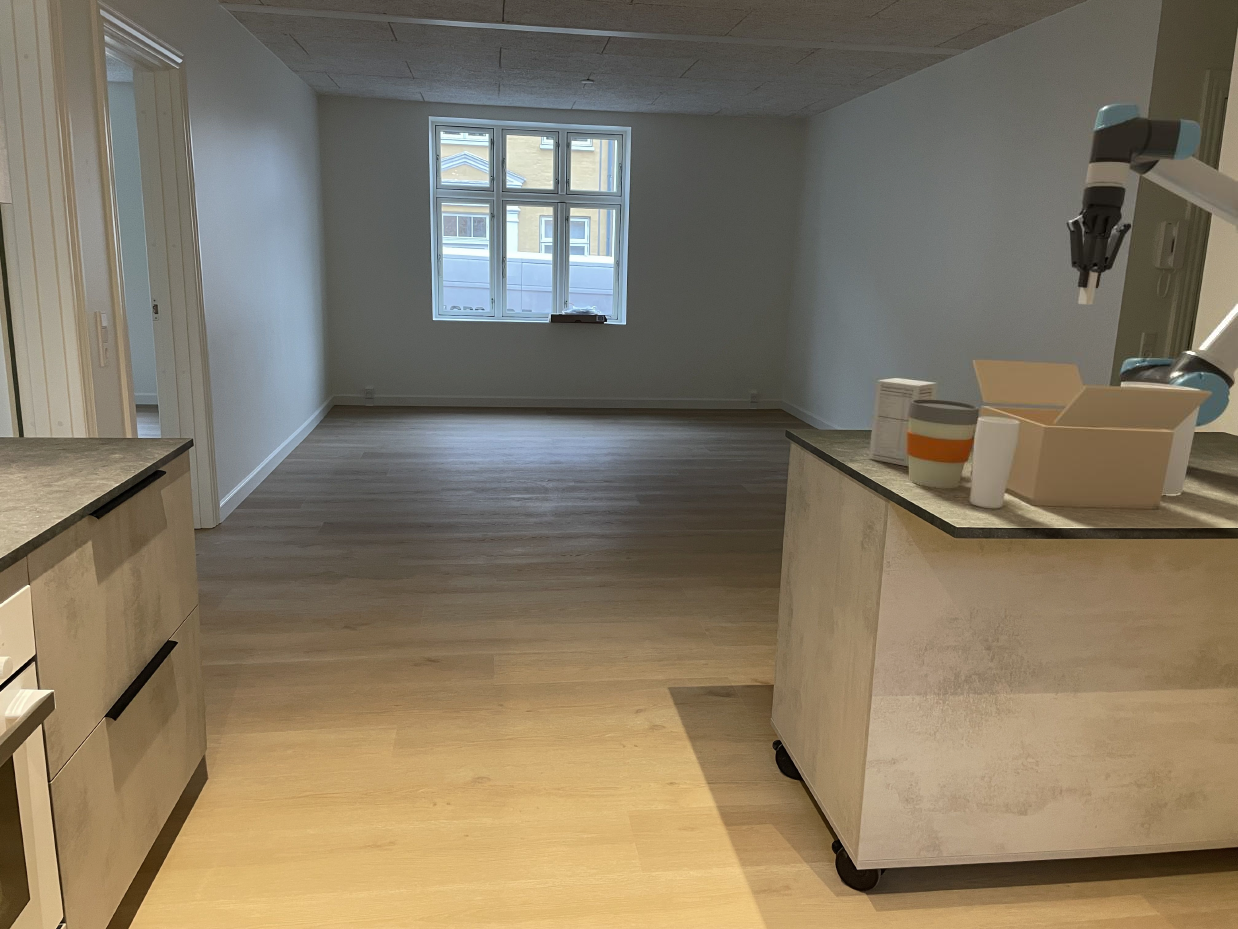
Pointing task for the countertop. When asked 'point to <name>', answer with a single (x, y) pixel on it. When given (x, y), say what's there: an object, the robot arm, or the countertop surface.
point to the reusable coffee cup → (939, 441)
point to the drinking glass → (992, 460)
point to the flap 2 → (1131, 407)
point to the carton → (1084, 462)
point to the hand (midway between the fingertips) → (1085, 304)
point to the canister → (1175, 442)
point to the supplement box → (895, 417)
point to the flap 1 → (1027, 382)
